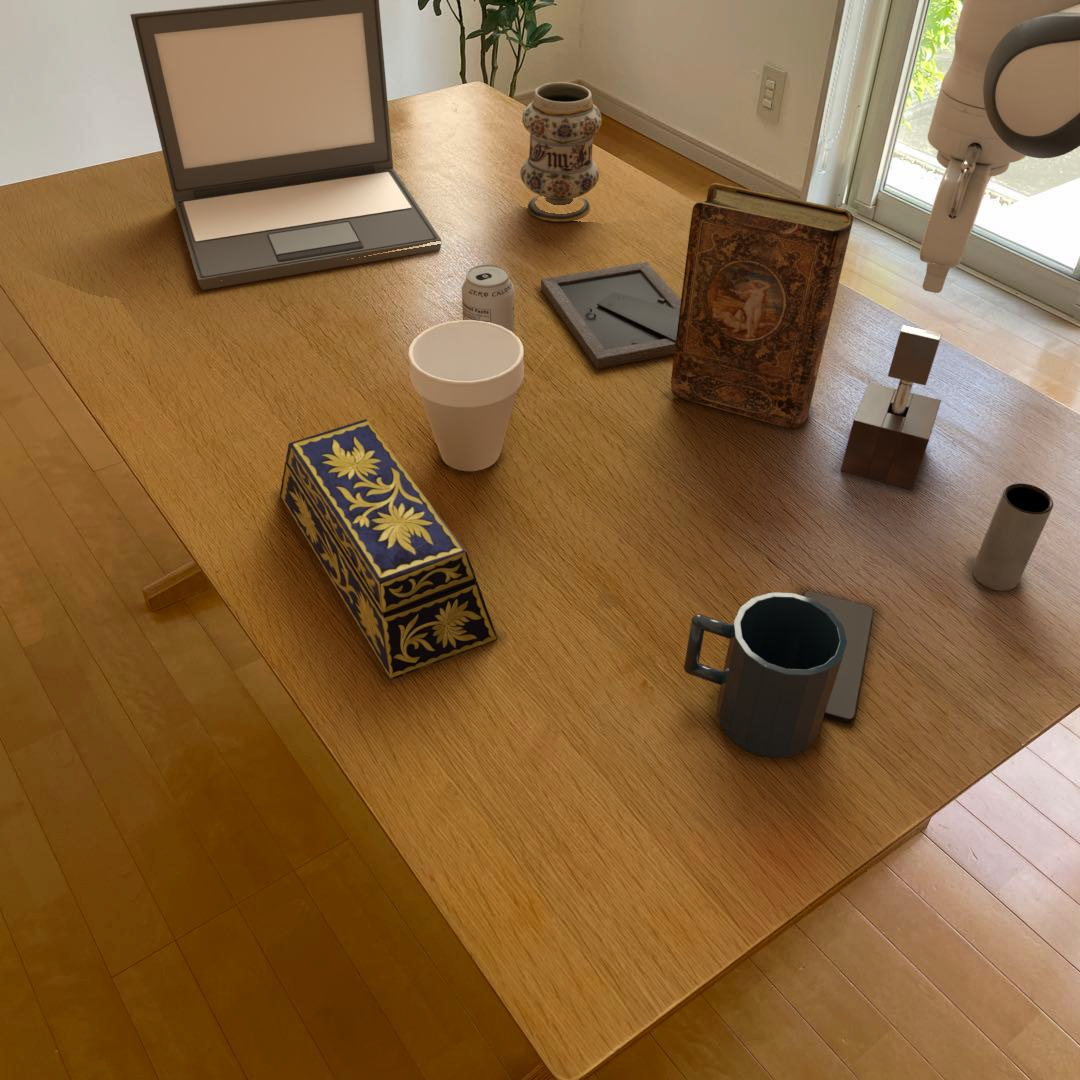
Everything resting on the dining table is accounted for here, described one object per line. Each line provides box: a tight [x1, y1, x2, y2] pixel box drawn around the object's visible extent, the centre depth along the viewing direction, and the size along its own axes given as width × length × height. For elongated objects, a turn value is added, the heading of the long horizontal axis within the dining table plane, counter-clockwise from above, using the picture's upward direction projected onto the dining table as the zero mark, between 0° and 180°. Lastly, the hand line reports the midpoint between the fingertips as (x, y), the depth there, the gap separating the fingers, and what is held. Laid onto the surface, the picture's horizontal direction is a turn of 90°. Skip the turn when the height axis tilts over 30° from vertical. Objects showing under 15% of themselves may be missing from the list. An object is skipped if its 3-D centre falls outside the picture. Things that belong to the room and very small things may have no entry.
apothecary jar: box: [519, 81, 603, 223], centre depth 159 cm, size 12×12×18 cm
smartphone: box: [802, 590, 875, 725], centre depth 98 cm, size 7×1×15 cm
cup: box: [407, 319, 525, 472], centre depth 115 cm, size 12×12×14 cm
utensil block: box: [840, 382, 942, 491], centre depth 117 cm, size 8×8×7 cm
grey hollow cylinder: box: [971, 482, 1054, 592], centre depth 103 cm, size 4×4×10 cm
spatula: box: [887, 324, 943, 417], centre depth 114 cm, size 4×1×17 cm, turn 65°
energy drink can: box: [461, 264, 515, 334], centre depth 125 cm, size 6×6×15 cm
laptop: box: [129, 0, 442, 291], centre depth 150 cm, size 35×28×28 cm
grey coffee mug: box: [683, 591, 847, 759], centre depth 90 cm, size 13×9×11 cm
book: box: [670, 182, 854, 430], centre depth 119 cm, size 16×6×25 cm, turn 65°
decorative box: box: [279, 418, 498, 680], centre depth 103 cm, size 11×30×9 cm, turn 30°
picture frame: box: [540, 261, 681, 370], centre depth 141 cm, size 16×2×21 cm
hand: (940, 266), depth 103 cm, fingers open, 8 cm apart
